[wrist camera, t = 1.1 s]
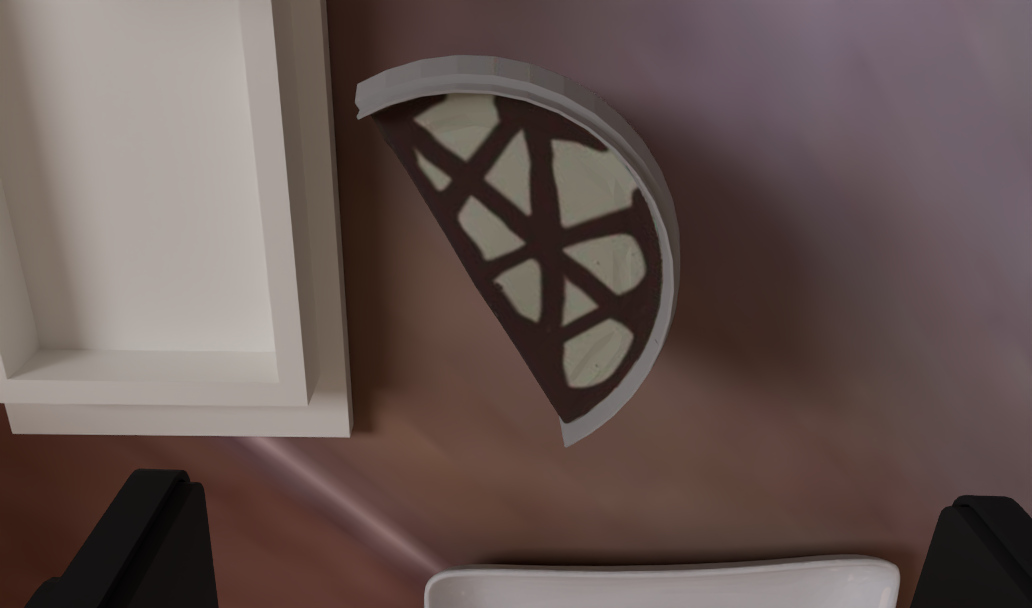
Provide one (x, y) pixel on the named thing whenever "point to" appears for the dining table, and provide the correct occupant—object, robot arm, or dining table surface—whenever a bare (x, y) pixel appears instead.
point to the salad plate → (673, 585)
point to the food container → (543, 218)
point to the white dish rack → (170, 220)
